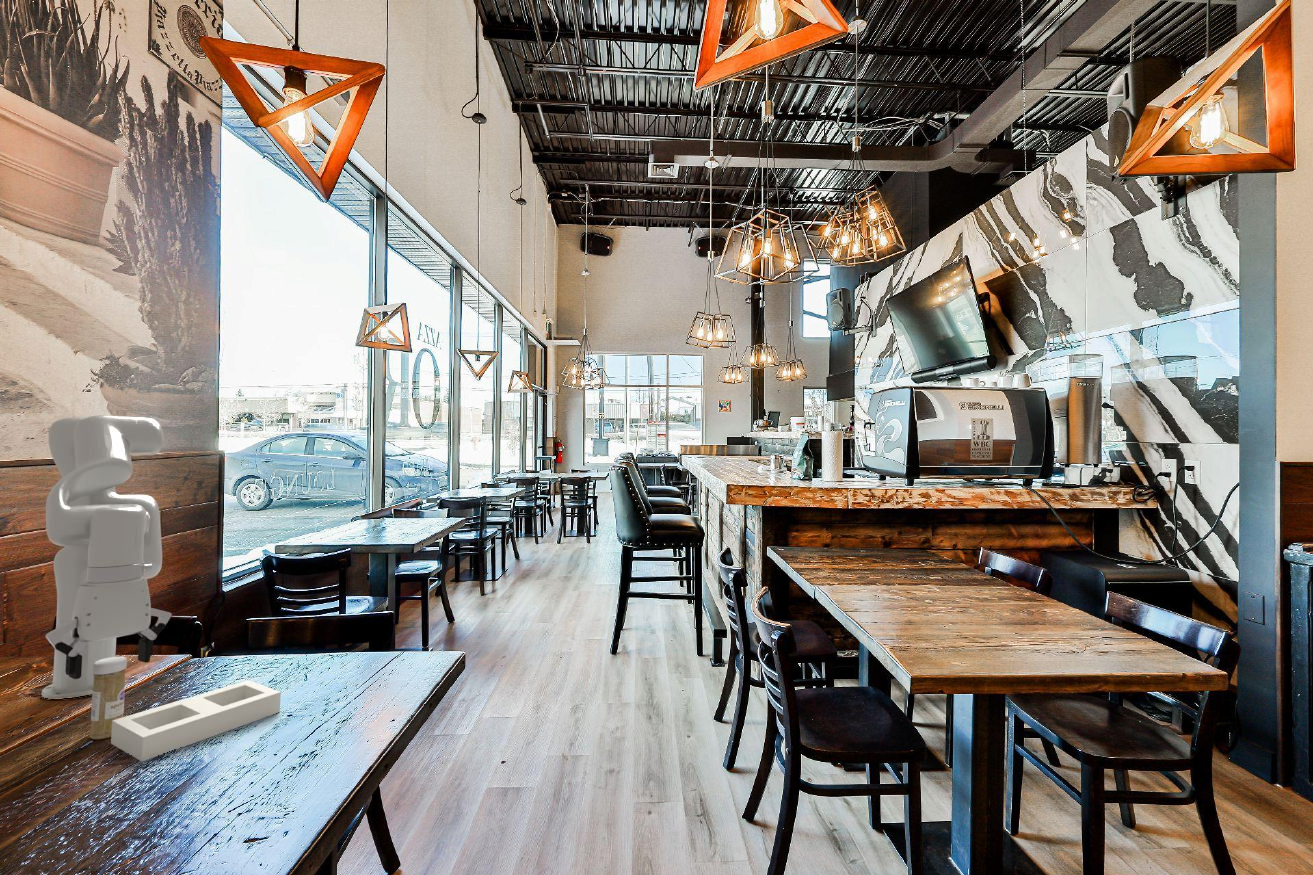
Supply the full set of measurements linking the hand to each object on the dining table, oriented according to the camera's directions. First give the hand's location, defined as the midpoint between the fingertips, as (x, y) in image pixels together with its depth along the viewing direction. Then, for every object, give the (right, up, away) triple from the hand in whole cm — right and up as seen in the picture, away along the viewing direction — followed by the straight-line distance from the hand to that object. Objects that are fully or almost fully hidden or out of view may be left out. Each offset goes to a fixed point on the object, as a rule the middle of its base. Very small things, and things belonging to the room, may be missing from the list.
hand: (110, 669), depth 106 cm
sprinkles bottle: (-1, -12, 0) cm, 12 cm away
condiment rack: (+14, -12, +4) cm, 19 cm away
